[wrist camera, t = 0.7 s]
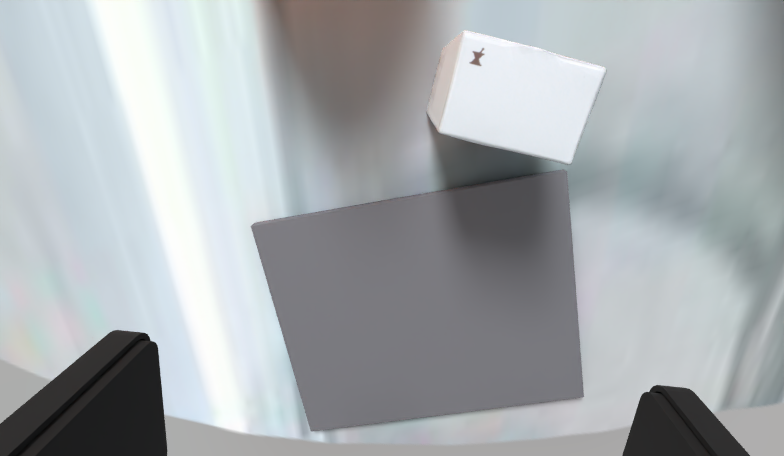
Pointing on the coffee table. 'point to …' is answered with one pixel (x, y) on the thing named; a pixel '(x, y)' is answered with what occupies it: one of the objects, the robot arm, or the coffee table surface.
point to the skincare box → (513, 96)
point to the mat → (428, 302)
